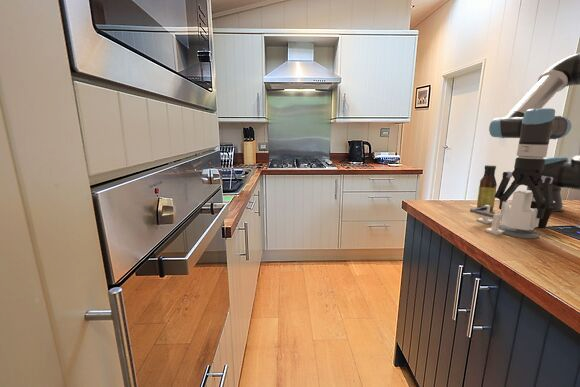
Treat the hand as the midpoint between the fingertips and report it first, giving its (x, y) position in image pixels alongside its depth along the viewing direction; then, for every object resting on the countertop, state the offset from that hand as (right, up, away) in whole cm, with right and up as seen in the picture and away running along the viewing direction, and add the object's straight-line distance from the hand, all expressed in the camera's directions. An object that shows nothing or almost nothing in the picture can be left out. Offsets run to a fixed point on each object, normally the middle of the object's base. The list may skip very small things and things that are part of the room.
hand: (517, 222), depth 98 cm
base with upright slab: (0, -1, 0) cm, 1 cm away
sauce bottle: (+8, +3, +29) cm, 30 cm away
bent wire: (-6, +3, +5) cm, 8 cm away
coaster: (0, -3, +1) cm, 4 cm away
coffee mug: (+13, -2, +9) cm, 16 cm away
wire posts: (-5, -2, +7) cm, 9 cm away
